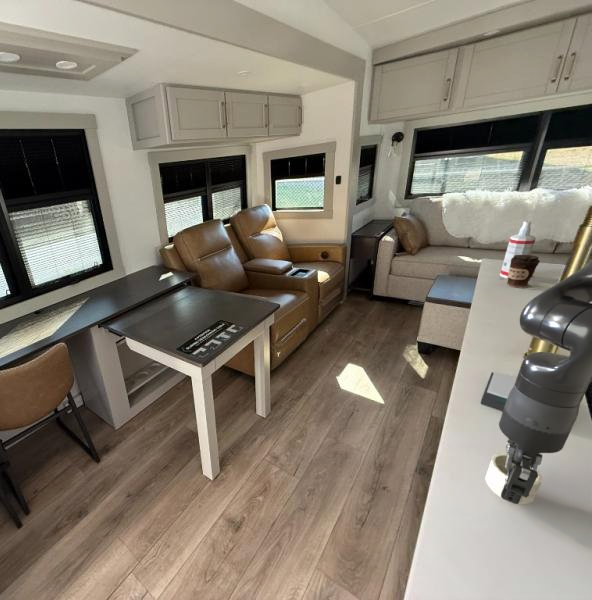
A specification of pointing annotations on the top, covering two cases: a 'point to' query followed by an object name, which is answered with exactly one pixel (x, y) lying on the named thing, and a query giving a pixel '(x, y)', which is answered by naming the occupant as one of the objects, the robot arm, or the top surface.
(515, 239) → the spray bottle
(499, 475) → the bowl
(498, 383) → the scale
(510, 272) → the coffee cup
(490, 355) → the top surface
